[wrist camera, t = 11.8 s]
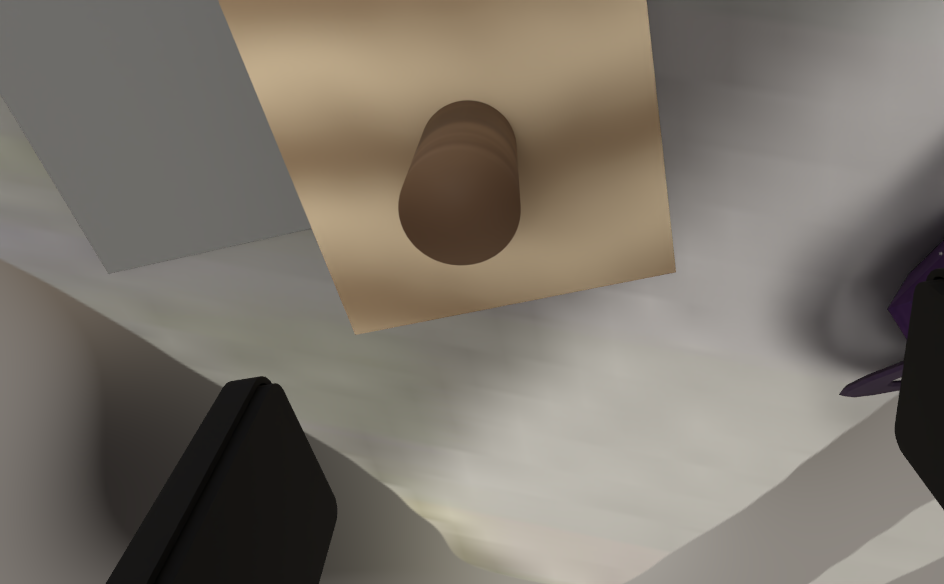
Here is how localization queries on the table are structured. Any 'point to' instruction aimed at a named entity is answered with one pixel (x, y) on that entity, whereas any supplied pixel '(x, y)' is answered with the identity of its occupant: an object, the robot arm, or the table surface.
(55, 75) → the rubber mat
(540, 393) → the table surface
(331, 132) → the oak lid
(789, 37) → the table surface
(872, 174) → the table surface
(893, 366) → the decorative bottle
